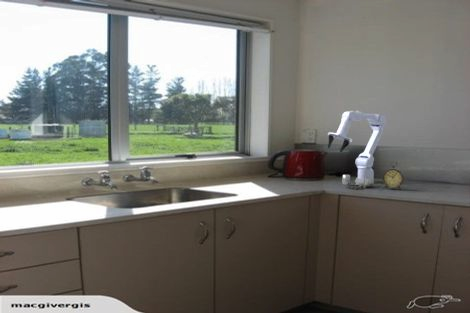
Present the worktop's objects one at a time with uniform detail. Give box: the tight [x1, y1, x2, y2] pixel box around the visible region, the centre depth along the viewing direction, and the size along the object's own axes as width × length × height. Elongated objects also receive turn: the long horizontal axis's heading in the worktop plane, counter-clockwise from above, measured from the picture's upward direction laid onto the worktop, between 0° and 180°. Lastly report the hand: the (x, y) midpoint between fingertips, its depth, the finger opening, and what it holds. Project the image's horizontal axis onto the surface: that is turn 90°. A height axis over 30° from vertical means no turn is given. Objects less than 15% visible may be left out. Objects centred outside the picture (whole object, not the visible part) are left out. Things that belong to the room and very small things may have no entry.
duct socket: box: [345, 177, 375, 190], centre depth 239 cm, size 18×9×5 cm, turn 117°
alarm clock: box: [382, 160, 404, 191], centre depth 234 cm, size 11×5×16 cm, turn 62°
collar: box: [341, 174, 351, 186], centre depth 249 cm, size 4×4×6 cm
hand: (334, 149), depth 244 cm, fingers open, 7 cm apart
